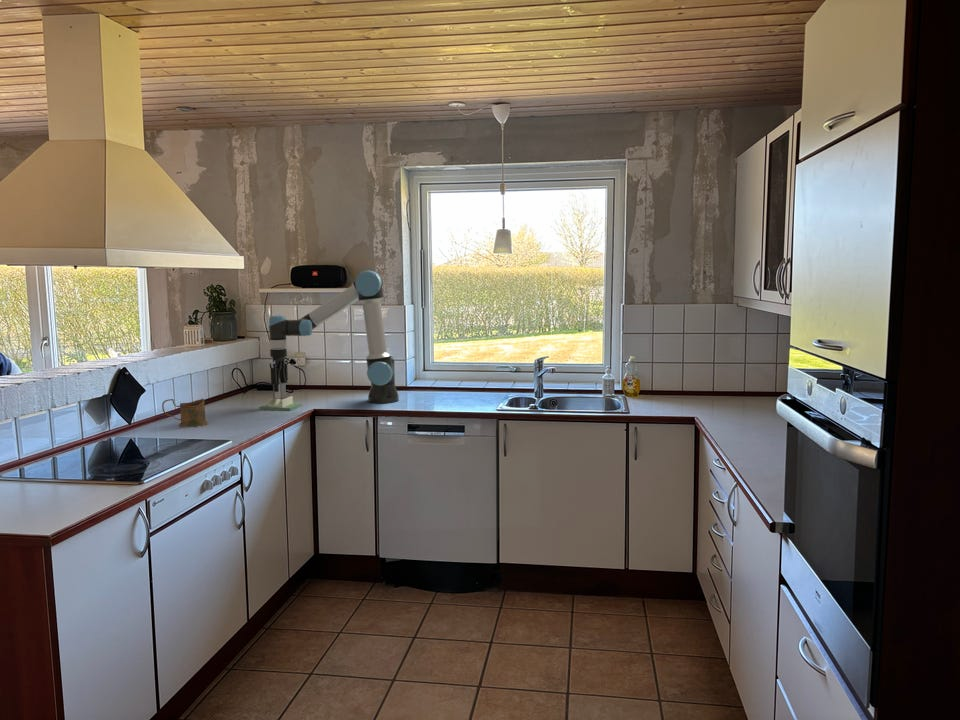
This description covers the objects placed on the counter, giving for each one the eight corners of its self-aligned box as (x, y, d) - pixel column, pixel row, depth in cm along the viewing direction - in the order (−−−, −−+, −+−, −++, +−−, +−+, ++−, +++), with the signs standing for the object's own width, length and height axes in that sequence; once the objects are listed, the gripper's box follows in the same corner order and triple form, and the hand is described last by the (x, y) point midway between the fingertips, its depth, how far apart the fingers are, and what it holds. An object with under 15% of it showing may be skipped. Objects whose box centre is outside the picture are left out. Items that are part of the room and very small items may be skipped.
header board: (302, 405, 343) (301, 396, 343) (290, 410, 332) (289, 400, 331) (272, 404, 347) (271, 395, 346) (259, 409, 335) (258, 399, 335)
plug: (285, 397, 340) (285, 383, 340) (281, 399, 336) (281, 384, 335) (277, 397, 341) (277, 382, 340) (273, 398, 337) (272, 384, 336)
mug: (160, 426, 302) (159, 398, 300) (203, 420, 312) (202, 393, 311) (167, 431, 293) (165, 402, 291) (211, 425, 303) (209, 397, 301)
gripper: (280, 346, 345) (281, 393, 348) (261, 350, 328) (263, 400, 331) (294, 346, 343) (296, 394, 346) (276, 350, 327) (278, 400, 330)
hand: (280, 397), depth 339 cm, fingers closed on plug, 4 cm apart
